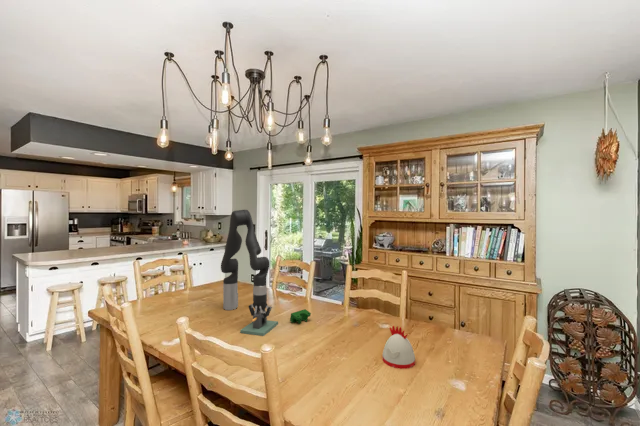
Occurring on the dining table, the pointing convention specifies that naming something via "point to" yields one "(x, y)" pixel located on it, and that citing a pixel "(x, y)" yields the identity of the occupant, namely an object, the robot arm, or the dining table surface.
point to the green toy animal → (300, 316)
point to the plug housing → (258, 320)
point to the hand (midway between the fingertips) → (259, 323)
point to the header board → (261, 331)
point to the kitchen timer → (398, 350)
